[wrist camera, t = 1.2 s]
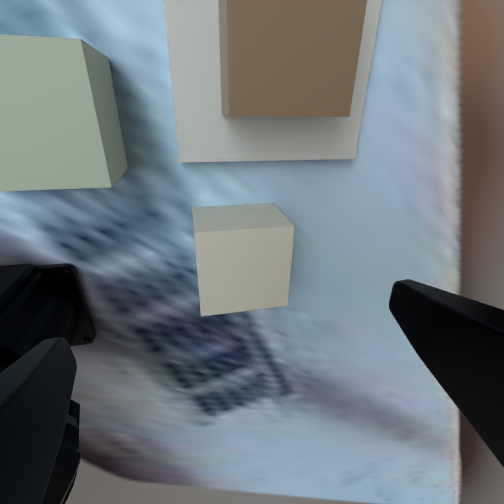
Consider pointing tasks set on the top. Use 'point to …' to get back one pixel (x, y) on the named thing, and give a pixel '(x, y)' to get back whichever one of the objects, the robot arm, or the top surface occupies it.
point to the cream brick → (242, 257)
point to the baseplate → (249, 130)
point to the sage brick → (57, 116)
